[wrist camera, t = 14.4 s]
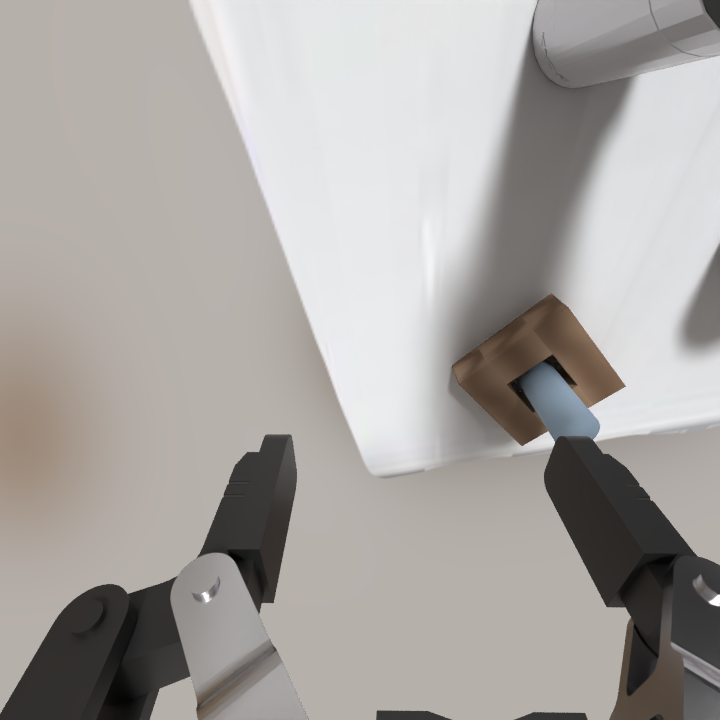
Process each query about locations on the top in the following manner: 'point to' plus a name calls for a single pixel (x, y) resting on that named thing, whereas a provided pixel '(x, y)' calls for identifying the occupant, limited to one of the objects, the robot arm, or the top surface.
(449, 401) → the top surface
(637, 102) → the top surface
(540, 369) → the peg
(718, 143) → the top surface
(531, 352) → the socket block
